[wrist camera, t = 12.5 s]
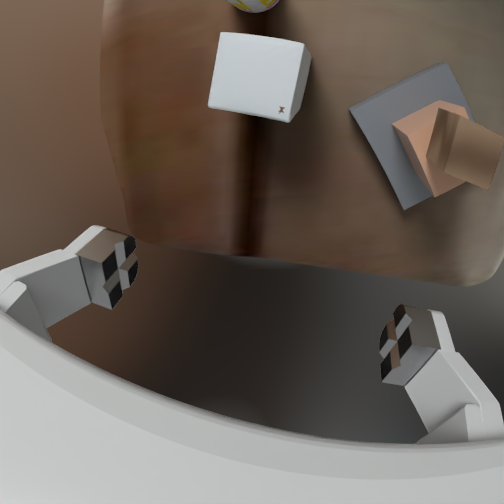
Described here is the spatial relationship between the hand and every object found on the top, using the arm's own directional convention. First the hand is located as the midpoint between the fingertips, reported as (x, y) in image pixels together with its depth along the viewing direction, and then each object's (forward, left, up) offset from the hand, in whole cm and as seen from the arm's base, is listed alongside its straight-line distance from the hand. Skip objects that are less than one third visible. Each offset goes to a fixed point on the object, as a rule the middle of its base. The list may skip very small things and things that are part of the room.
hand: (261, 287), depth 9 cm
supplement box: (0, -7, -31) cm, 32 cm away
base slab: (-12, +8, -31) cm, 34 cm away
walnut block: (-13, +7, -21) cm, 26 cm away
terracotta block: (-12, +8, -28) cm, 32 cm away
